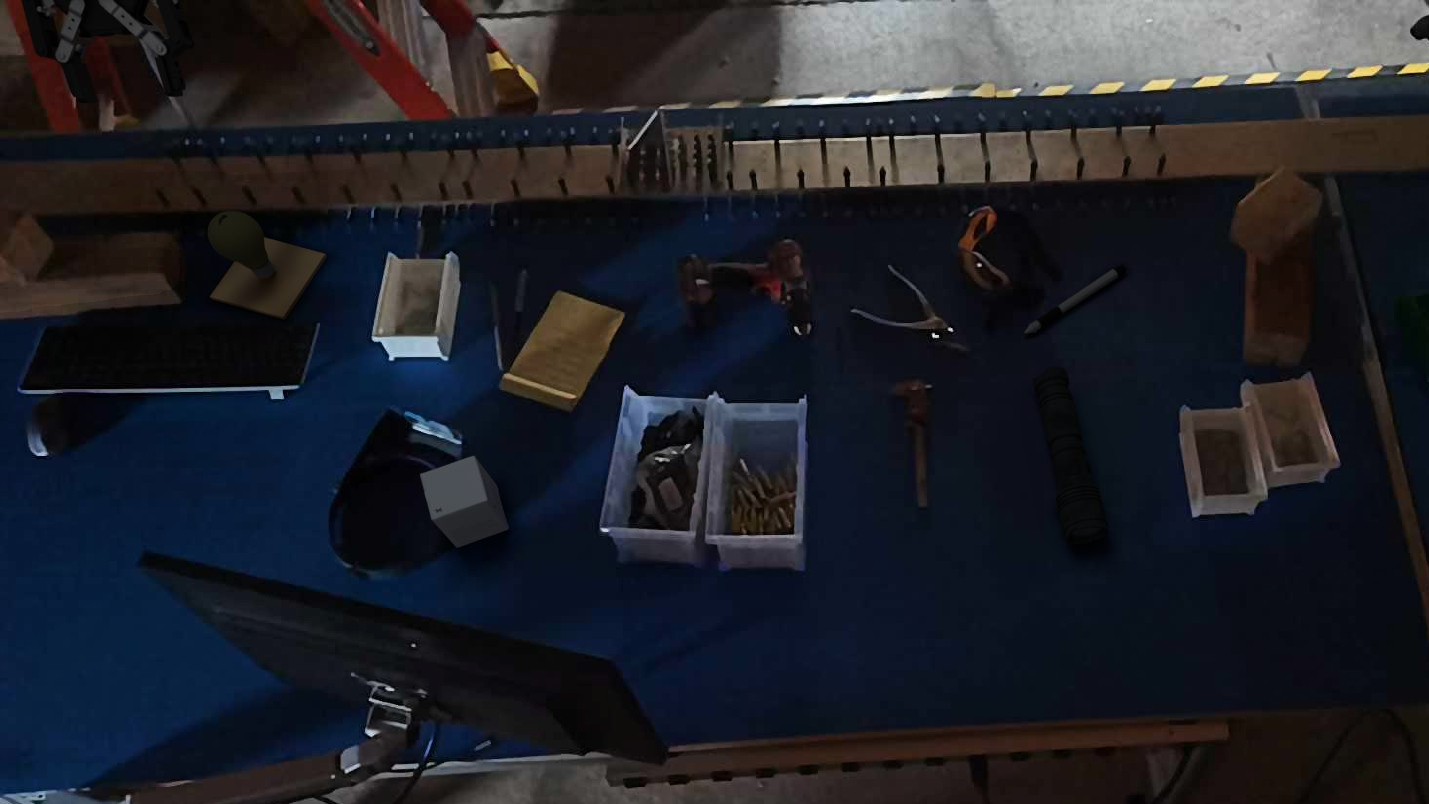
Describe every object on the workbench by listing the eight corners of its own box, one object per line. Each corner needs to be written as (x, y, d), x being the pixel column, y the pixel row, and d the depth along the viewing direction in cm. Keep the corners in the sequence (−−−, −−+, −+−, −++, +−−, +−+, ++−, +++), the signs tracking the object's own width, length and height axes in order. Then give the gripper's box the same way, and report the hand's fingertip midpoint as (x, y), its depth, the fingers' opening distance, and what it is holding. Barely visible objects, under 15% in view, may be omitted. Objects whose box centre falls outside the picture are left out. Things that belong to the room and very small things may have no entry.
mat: (212, 299, 137) (209, 296, 137) (256, 237, 142) (253, 234, 141) (285, 320, 136) (282, 317, 136) (327, 256, 140) (325, 253, 140)
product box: (511, 530, 125) (488, 501, 118) (456, 549, 124) (430, 521, 117) (498, 485, 127) (474, 453, 121) (444, 503, 126) (417, 473, 120)
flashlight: (1062, 548, 125) (1067, 529, 121) (1027, 390, 134) (1031, 367, 129) (1106, 542, 125) (1113, 523, 121) (1068, 385, 134) (1073, 362, 130)
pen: (1126, 274, 141) (1128, 267, 140) (1025, 341, 137) (1026, 335, 135) (1119, 267, 142) (1121, 260, 140) (1018, 334, 137) (1019, 328, 136)
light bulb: (247, 257, 139) (201, 202, 130) (294, 254, 140) (251, 198, 131) (240, 294, 137) (193, 240, 128) (288, 290, 137) (243, 237, 128)
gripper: (-25, -78, 106) (36, 105, 112) (132, -89, 107) (184, 93, 113) (27, -66, 113) (82, 106, 119) (174, -76, 114) (222, 95, 120)
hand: (132, 99), depth 116 cm, fingers open, 8 cm apart
